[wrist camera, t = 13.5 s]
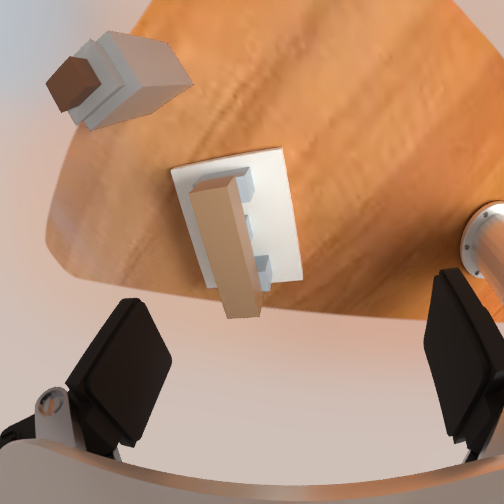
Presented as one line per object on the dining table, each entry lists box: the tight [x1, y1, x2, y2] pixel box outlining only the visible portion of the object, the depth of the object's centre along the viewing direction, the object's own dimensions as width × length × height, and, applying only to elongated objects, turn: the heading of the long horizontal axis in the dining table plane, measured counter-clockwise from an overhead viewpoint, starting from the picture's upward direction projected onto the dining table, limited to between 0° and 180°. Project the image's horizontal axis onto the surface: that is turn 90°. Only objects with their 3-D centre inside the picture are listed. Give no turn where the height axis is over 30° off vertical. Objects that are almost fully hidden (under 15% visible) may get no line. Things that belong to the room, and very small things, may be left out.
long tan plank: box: [188, 175, 263, 319], centre depth 35 cm, size 4×16×4 cm, turn 12°
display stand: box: [170, 147, 303, 292], centre depth 39 cm, size 14×18×6 cm
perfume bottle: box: [46, 31, 194, 131], centre depth 26 cm, size 7×7×18 cm
